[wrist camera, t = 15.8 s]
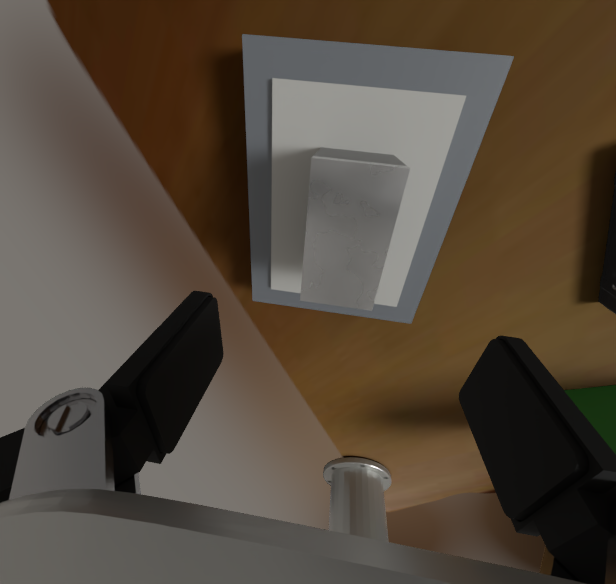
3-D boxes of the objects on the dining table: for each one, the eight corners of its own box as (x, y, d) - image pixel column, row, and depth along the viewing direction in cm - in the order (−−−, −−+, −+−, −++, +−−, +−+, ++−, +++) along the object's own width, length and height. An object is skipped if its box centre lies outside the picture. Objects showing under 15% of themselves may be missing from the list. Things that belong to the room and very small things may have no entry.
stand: (404, 302, 29) (411, 326, 26) (262, 282, 30) (251, 302, 27) (487, 66, 18) (517, 54, 15) (258, 47, 19) (240, 32, 16)
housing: (393, 154, 18) (410, 168, 13) (367, 269, 23) (371, 310, 18) (321, 147, 19) (311, 157, 14) (310, 262, 24) (299, 300, 19)
